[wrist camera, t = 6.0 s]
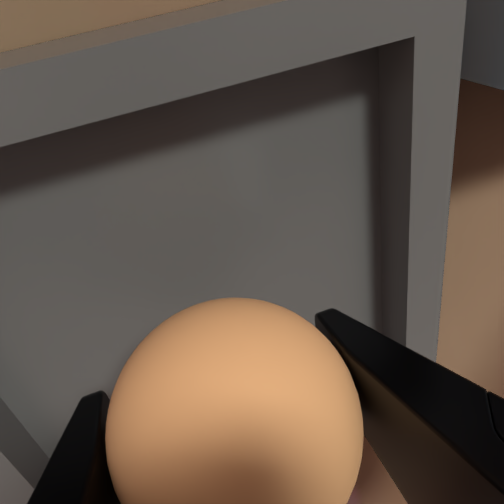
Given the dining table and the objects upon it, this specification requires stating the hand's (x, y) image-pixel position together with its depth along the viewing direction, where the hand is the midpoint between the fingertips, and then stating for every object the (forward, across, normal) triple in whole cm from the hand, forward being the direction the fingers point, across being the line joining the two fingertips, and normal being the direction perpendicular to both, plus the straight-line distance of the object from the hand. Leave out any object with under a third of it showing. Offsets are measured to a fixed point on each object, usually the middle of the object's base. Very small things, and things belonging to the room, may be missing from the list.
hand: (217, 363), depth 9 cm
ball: (-1, 0, 0) cm, 1 cm away
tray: (+3, 0, 0) cm, 3 cm away
